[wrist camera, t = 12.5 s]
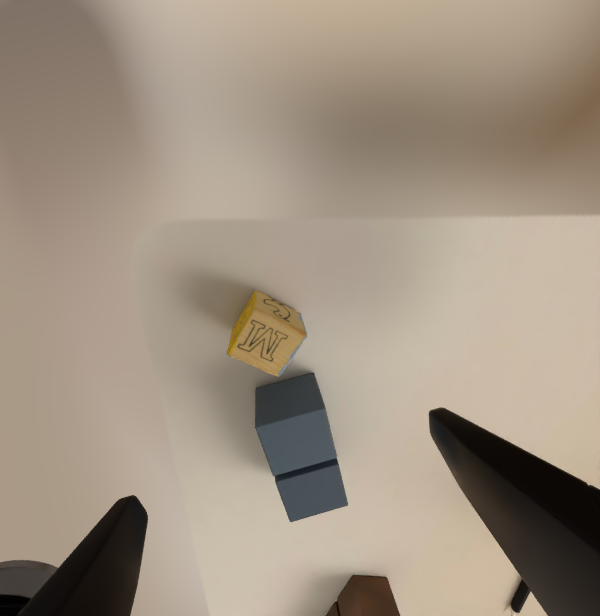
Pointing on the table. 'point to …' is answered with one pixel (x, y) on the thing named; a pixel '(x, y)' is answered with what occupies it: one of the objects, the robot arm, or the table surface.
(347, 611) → the brown double block
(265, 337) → the alphabet block
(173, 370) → the table surface
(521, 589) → the pen
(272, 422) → the stacked grey-blue cubes
